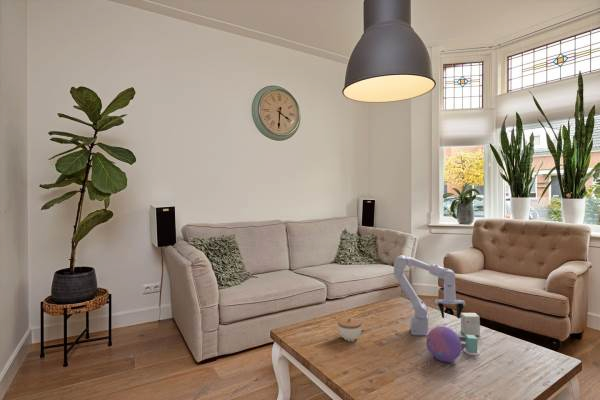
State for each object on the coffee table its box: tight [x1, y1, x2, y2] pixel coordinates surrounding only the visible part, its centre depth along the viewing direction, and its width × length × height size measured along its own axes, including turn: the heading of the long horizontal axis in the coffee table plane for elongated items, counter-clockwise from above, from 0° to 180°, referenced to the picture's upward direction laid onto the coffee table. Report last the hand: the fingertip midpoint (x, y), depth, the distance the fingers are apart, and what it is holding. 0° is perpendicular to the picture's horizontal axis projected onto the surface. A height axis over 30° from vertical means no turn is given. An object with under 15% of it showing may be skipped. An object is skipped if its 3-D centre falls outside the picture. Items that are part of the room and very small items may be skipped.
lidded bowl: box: [337, 316, 362, 341], centre depth 175 cm, size 13×13×11 cm
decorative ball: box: [425, 326, 463, 363], centre depth 151 cm, size 15×15×15 cm
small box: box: [460, 312, 481, 336], centre depth 178 cm, size 8×6×10 cm
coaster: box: [463, 348, 480, 356], centre depth 158 cm, size 7×7×1 cm
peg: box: [465, 335, 478, 353], centre depth 158 cm, size 4×4×7 cm
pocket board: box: [457, 334, 466, 349], centre depth 168 cm, size 18×10×2 cm, turn 79°
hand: (450, 317), depth 174 cm, fingers open, 7 cm apart
